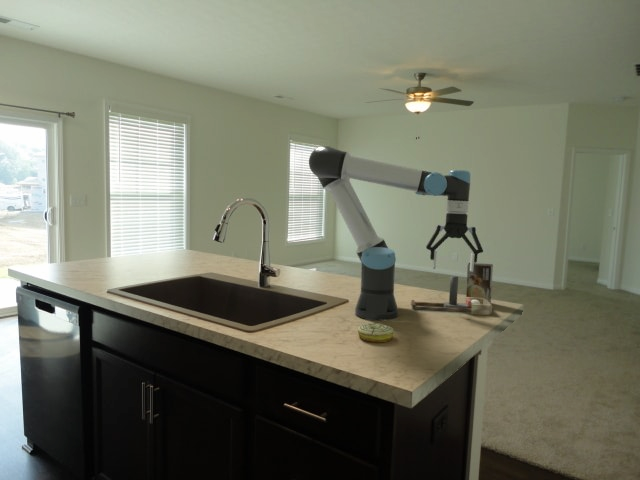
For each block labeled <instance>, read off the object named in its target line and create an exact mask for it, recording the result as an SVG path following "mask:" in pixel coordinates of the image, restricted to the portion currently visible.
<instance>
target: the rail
mask: <svg viewBox="0 0 640 480" xmlns="http://www.w3.org/2000/svg"><path fill="white" fill-rule="evenodd" d="M411 305H412V307H411V310H412V309H413V310H431V311H450V312H469V313H471V309H467V308H448V307H444V302H431V301H430V302H428V301H426V302H425V301H415V299H411V303H410V306H411ZM416 305H419V306H416ZM428 306H439V307H428Z"/></svg>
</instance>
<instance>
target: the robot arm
mask: <svg viewBox="0 0 640 480" xmlns="http://www.w3.org/2000/svg"><path fill="white" fill-rule="evenodd" d="M308 165H309V166H308V167H309V169H310V170H311V172H312V174H313V175H314V176H316V177H317V179H318V181H319V182H320V185H321V186H322V188H323V190H326V191H328V192H329V194H330V195H331V197H332V199H333V201H334V203H335V205H336V207H337V209H338V210H339V213H340V214H341V216H342V219H343V221H344V222H345V225H346V226H347V228H348V230H349V233H350V234H351V237H352V239H353V240H354V242H355V244H356V246H357V249H356V252H355V253H356V255H357V257H358V258H359V261H360V263H361V269H360V270H361V275H360V276H361V279H360V294H359V295H358V299H357V302H356V305H355V309H354V310H355V311H354V312H355V313H354V314H355V315H356V317H360V318H362V319H366V320H372V321H389V320H393V319H396V318H398V317H399V309H398V304H397V301H396V297H395V294H394V293H395V274H396V273H395V267H396V254H395V251H394V250H392V249H390V248H389V246H388V245H387V243H386V241H385V239H384V238H382V237H380V236H378V233H377V232H376V230H375V228H374V226H373V225H372V222H371V220H370V218H369V216H368V215H367V213H366V210H365V208H364V207H363V205H362V202H361V201H360V199H359V197H358V195H357V193H356V191H355V188H354V186H353V185H352V182H351V181H350V179H353V180H359V181H363V182H368V183H371V184H372V183H373V184H377V185H382V186H386V187H392V188H397V189H401V190H405V191H412V192H414V193H415V194H416V195H418V196H421V195H422V196H432V197H436V196H437V197H438V196H439V197H440V196H442V197H447V201H446V212H447V213H446V215H445V223H444V224H445V225H440V224H437V225H436V227H435V230H434V233H433V235H432V236H431V237H430V239H429V241H428V243H427V244H426V246H425V248H426V249H427V250H428V251H430V255H429V256H430V257H429V258H430V261H432V270H436V266H437V265H436V264H437V251H436V250H437V249H438V248H439V247H440V246H441V245H443V243H444V241H446V240H447V239H448V238H451V239H463V241H464V242H465V243H466V245H467V246H468V247H469V249H470V250H471V251H472V252H471V253H470V259H469V260H470V261H469V263H470V271H471V272H473V268H474V263H478V255H479V254H482V253H484V250H483V246H482V244H481V242H480V240H479V238H478V237H479V236H478V235H477V233H476V229H477V228H476V227H475V226H470V227H468V214H467V213H468V212H469V201H470V200H469V199H470V190H471V189H470V188H471V173H470V171H469V170H466V169H465V170H462V169H460V170H459V169H455V170H452V169H451V170H449V173H448V175H443V174H442V173H440V172H435V171H434V172H432V171H426V170H422V169H417V168H412V167H407V166H402V165H397V164H393V163H388V162H383V161H378V160H374V159H369V158H364V157H359V156H354V155H351V154H350V153H349V151H345V150H341V149H337V148H334V147H331V146H329V145H322V146H318V147H316V148H314V149H313V151H312V152H311V153H310V155H309V159H308ZM443 230H444V231H445V233H444V234H443V235H442V237H441V238H440V239H438V240H437V242H436V243H435V244H434V242H435V241H436V239H437V237H438V236H439V234H440V232H442V231H443ZM467 232H469V234H470V235H471V237H472V239H473V241H474V244H475V246H476V247H475V246H474V245H473V243H472V242H471V241H470V239H469V238H468V236H467V235H466V233H467ZM433 244H434V245H433ZM476 248H477V249H476Z"/></svg>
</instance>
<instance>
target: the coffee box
mask: <svg viewBox="0 0 640 480" xmlns="http://www.w3.org/2000/svg"><path fill="white" fill-rule="evenodd" d="M493 267H494V265H493V263H481V262H476V263H475V262H474V268H473V272H471V271H470V262H469V263H468V264H467V267H466V269H467V270H466V272H467V273H466V275H467V276H466V291H465V293H466V296H465V298H466V297H474V298H485V299H486V300H487V301H488V302H489V303H490V304H491V305H492V295H493V294H492V293H493V289H492V287H493V271H494V270H493Z"/></svg>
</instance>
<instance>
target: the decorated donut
mask: <svg viewBox="0 0 640 480" xmlns="http://www.w3.org/2000/svg"><path fill="white" fill-rule="evenodd" d="M394 334H395V332H394V328H393V327H391V326H389V325H387V324H383V323H378V322H375V323H373V322H371V323H369V322H368V323H363V324H360V326H359V327H358V328H357V335H358V336H359V338H361V340H364V341H365V340H366V341H365V342H369V341H371V342H370V343H376V342H380V343H386V342H389V341H390V340H391V339H392V338H393V336H394Z"/></svg>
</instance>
